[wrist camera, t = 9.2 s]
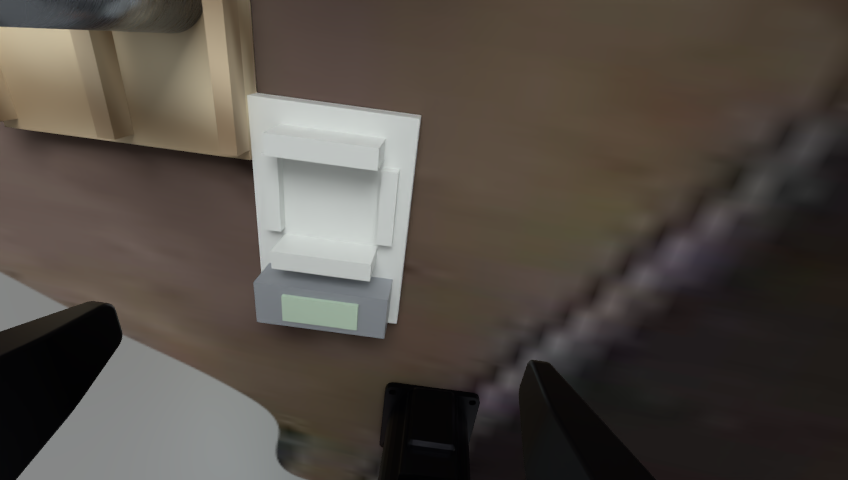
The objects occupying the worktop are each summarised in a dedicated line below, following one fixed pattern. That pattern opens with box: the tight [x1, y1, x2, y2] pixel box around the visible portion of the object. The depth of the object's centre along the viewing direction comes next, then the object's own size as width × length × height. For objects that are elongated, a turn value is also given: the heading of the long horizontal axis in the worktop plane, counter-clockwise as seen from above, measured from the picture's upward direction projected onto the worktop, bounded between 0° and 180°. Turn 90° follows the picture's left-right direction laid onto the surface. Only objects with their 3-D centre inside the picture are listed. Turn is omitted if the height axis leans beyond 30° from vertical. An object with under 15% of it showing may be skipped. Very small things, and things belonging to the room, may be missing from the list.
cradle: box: [247, 93, 421, 339], centre depth 20 cm, size 12×8×3 cm, turn 173°
